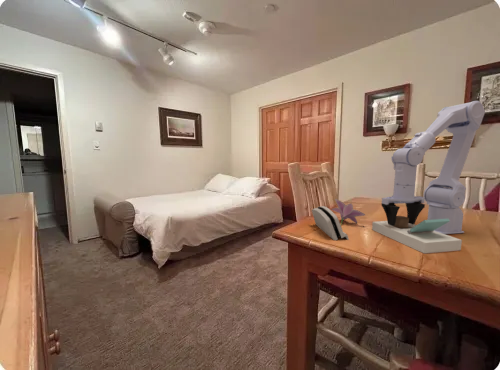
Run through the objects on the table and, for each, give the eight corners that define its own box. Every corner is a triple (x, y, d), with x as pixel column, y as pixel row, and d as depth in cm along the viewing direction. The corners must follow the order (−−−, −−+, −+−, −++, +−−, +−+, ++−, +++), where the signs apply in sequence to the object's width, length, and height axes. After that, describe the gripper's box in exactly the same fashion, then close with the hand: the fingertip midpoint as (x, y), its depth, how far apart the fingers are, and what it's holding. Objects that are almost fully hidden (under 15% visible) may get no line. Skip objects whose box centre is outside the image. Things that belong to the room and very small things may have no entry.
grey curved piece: (349, 240, 69) (340, 211, 68) (335, 245, 69) (326, 216, 67) (328, 224, 85) (320, 201, 84) (316, 228, 85) (309, 205, 84)
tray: (400, 227, 80) (401, 220, 80) (460, 250, 61) (461, 239, 60) (372, 229, 78) (372, 221, 78) (424, 253, 59) (425, 242, 59)
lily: (367, 231, 80) (371, 207, 82) (340, 221, 78) (345, 196, 80) (345, 231, 91) (349, 210, 94) (321, 222, 89) (326, 200, 92)
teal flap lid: (430, 229, 68) (448, 218, 62) (431, 232, 67) (450, 221, 61) (406, 231, 66) (423, 219, 61) (408, 233, 66) (425, 222, 60)
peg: (400, 232, 76) (401, 215, 75) (410, 236, 72) (412, 218, 71) (390, 232, 75) (391, 216, 74) (399, 236, 71) (401, 219, 71)
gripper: (412, 182, 76) (409, 219, 78) (376, 183, 74) (373, 221, 76) (432, 185, 70) (428, 225, 71) (392, 186, 67) (389, 228, 69)
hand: (401, 224), depth 73 cm, fingers open, 7 cm apart
